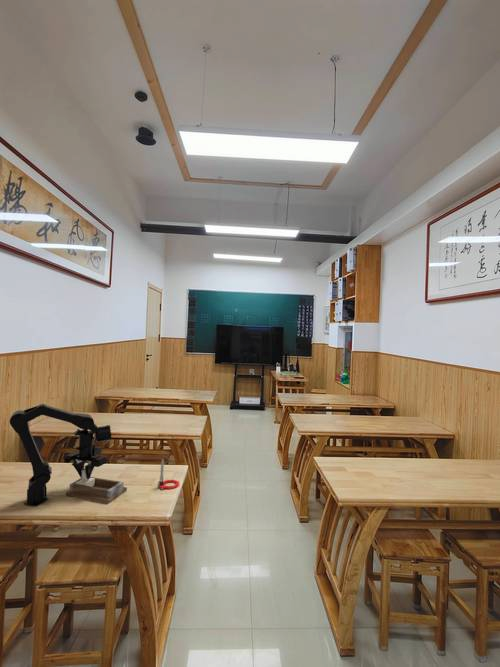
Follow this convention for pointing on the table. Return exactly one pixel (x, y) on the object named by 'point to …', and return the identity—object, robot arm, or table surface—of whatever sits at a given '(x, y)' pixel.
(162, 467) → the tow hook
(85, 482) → the keeper
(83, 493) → the brown tray
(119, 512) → the table surface
